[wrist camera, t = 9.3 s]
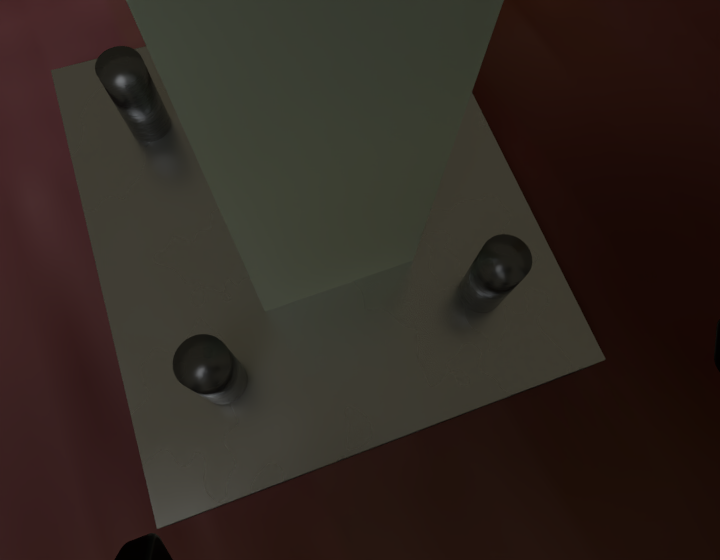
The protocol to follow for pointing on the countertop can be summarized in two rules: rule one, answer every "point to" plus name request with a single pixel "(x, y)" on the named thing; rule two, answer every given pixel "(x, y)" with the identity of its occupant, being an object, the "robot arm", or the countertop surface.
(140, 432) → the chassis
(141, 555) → the robot arm
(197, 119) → the plate
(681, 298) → the countertop surface
